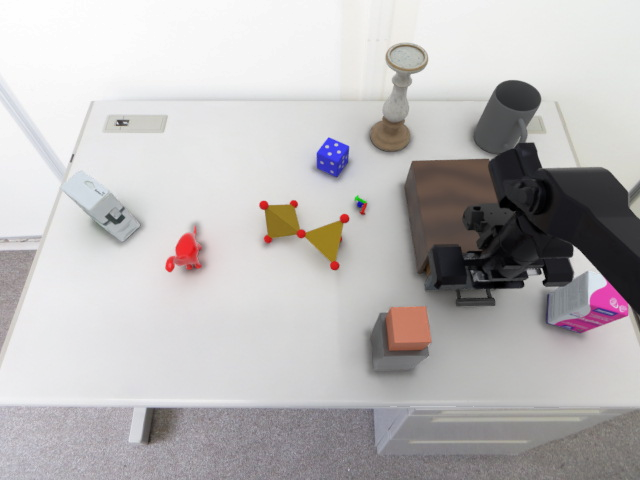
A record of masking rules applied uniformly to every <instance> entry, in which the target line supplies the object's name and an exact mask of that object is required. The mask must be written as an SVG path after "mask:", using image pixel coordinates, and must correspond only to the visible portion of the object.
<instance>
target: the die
mask: <svg viewBox="0 0 640 480" xmlns="http://www.w3.org/2000/svg"><path fill="white" fill-rule="evenodd" d="M349 155H350V146H349V145H348V144H345V143H343V142H342V141H339V140H336V139H334V138H332V137H327V138H326V139H325V140H324V142H323V143H322V145H321V146H320V147H319V149H318V150H317V152H316V169H318V170H320V171H322V172H325V173H326V174H328V175H330V176H333V177H335V178H338V177H339V176H340V174H341V173H342V172H343V170H344V168H345V167H346V166H347V164H348V163H349Z"/></svg>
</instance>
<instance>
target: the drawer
mask: <svg viewBox="0 0 640 480" xmlns="http://www.w3.org/2000/svg"><path fill="white" fill-rule="evenodd" d="M426 271H427V273H426V276H427V279H426V281H425V282H424V284H423V286H424V291H425V292H426V291H439V290H438V289H436V288H435V287H434V286H433V281H432V275H431V269H430V263H429V262H428V263H427V265H426ZM466 272H467V283H466V285H465V286H464V287H463V288H459V289H451V290H450V291H454V292H455V296H456V298H455V306H456V307H457V308H465V307H466V308H467V307H494V306H496V304H497V301H496V298H495V297H493V294H492V291H491V290H492V289H484V291H485V294H486V297H485V296H484V297H462V293H461V291H463V290H475V289H474V288H473V287H472V285H471V280H470V276H469V272H468V270H466Z"/></svg>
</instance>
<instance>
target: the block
mask: <svg viewBox="0 0 640 480" xmlns="http://www.w3.org/2000/svg"><path fill="white" fill-rule="evenodd" d="M387 312H388V314H387V316H386V326H387V336H388V345H389V351H399V350H424V349H425V348H426V347H427V346H428V347H429V345H431V344H432V343H433V341H432V335H431V329H430V323H429V316H428V309H427V306H425V305H423V306H421V305H419V306H418V305H417V306H390V308H389V310H388V311H387Z"/></svg>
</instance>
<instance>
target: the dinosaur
mask: <svg viewBox="0 0 640 480" xmlns="http://www.w3.org/2000/svg"><path fill="white" fill-rule="evenodd" d="M196 236H197V226H196V224H195V225H194V229H193V232H188V231H187V232H185V233H183V234H182V235H181V236H180V238H179V239H178V241H177V243H176V246H175V248H174V255H169V256H168V258H167V259H166V262H165V267H164V269H165V271H166V272H168V273H172V272H174V270H175V267H176V266H177V267H184V266H185V269H186V270H187V271H189V270H193V268H195V269H197V270H198V269H201V268H202V266H203V265H202V264H201V263H200V260H199V257H198V255H199V252H200V250H202V248H203V247H202V245H201V244H200V242H198V241H197V239H196ZM193 266H194V267H193Z"/></svg>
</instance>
